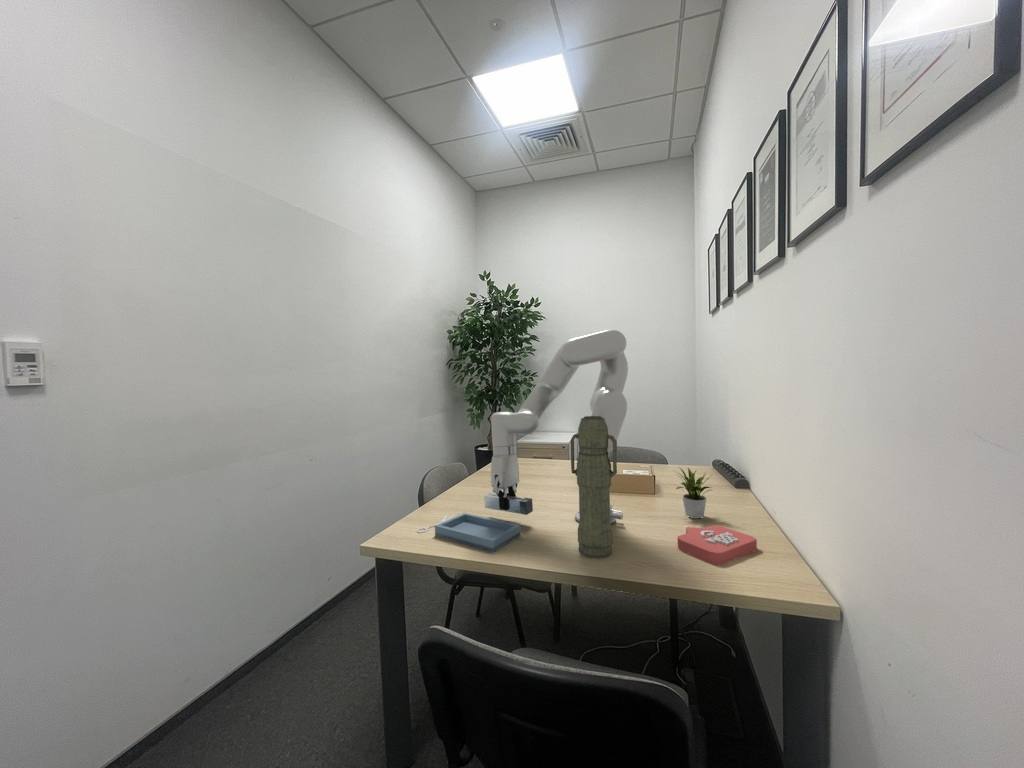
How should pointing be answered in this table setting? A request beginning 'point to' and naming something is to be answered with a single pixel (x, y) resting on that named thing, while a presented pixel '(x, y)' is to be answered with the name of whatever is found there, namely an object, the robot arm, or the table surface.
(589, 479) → the thermos
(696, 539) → the plaque
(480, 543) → the tray
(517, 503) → the two-tone rectangular block
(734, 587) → the table surface
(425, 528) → the scissors
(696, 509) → the house plant
